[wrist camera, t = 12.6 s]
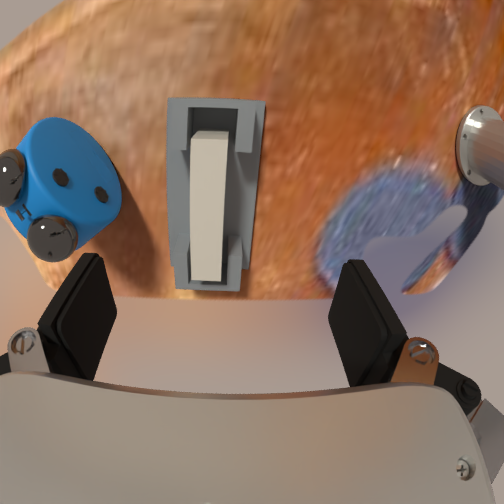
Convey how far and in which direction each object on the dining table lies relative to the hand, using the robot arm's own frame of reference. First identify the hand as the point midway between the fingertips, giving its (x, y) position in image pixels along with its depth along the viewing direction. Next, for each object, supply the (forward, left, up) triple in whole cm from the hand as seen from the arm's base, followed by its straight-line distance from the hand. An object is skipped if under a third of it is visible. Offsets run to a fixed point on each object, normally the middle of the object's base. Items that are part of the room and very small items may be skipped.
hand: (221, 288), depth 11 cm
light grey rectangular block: (+2, +4, -22) cm, 22 cm away
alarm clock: (+17, +1, -23) cm, 28 cm away
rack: (+2, +4, -23) cm, 23 cm away
